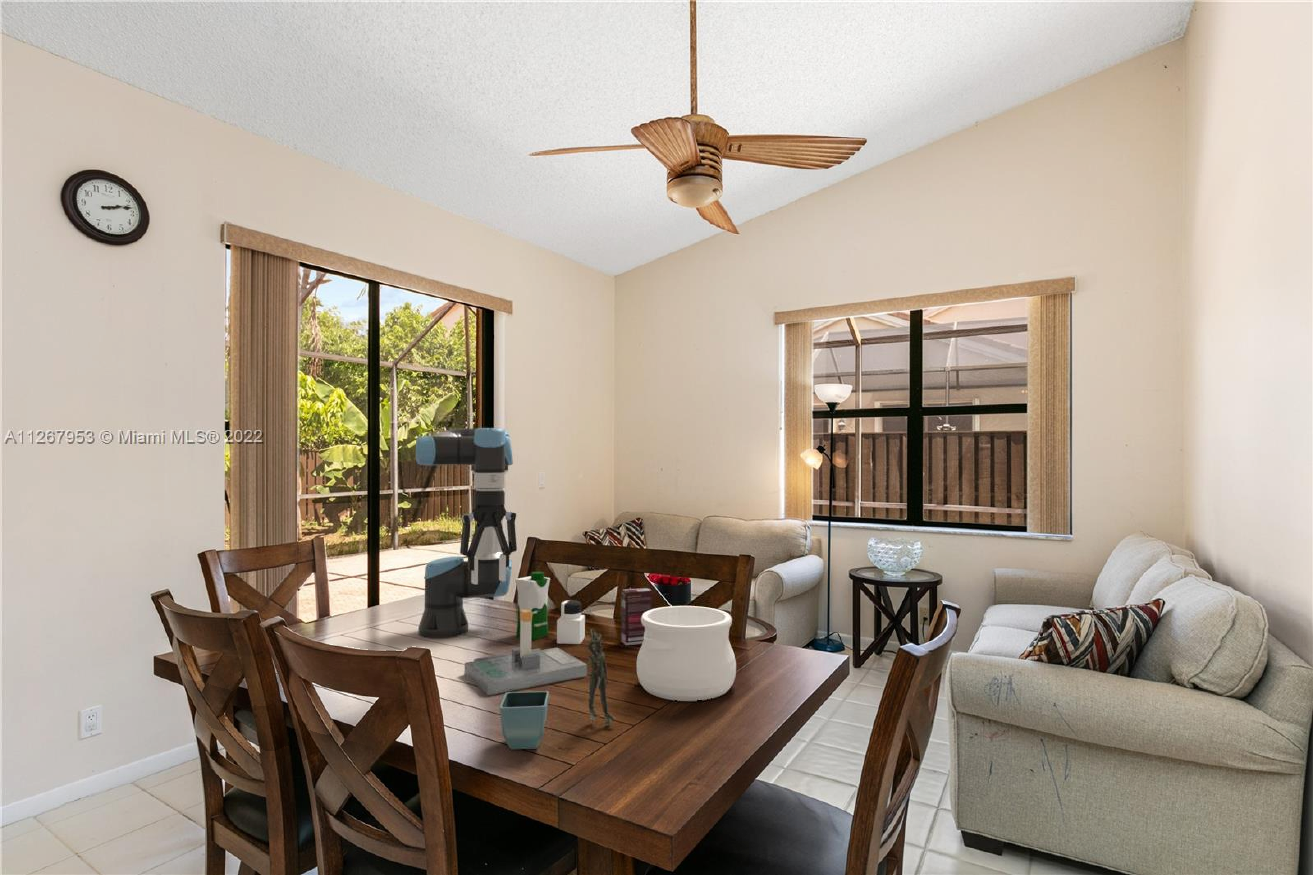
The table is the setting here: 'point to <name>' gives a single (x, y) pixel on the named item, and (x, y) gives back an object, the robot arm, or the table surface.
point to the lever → (525, 632)
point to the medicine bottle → (571, 623)
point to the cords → (501, 655)
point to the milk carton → (534, 602)
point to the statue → (598, 676)
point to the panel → (524, 670)
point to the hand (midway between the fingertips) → (488, 581)
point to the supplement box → (634, 614)
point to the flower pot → (523, 718)
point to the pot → (686, 653)
